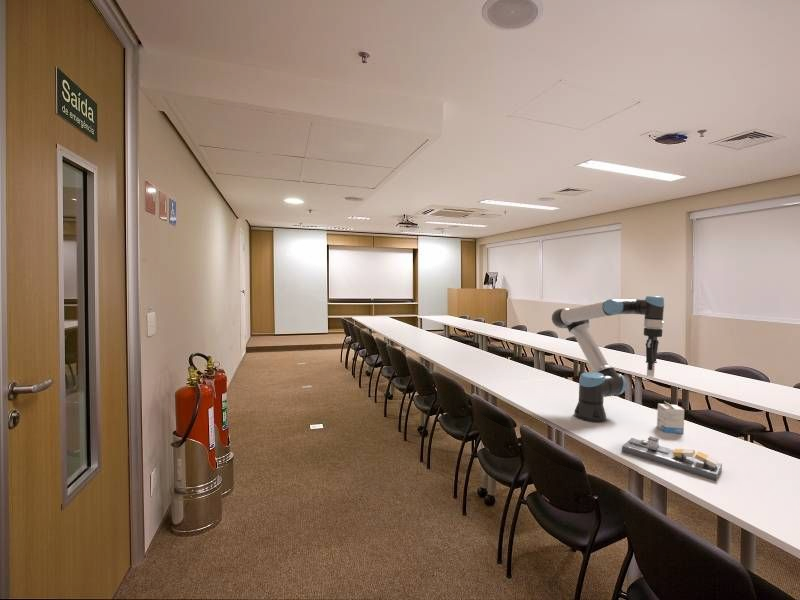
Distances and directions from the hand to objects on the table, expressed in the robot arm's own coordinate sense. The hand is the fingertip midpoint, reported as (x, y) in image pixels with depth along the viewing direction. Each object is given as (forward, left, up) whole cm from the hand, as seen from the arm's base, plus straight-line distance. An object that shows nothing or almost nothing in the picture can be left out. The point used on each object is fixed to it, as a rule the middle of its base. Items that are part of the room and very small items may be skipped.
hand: (650, 376), depth 186 cm
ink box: (+8, +8, -27) cm, 29 cm away
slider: (+10, -32, -23) cm, 40 cm away
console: (+16, -32, -26) cm, 44 cm away
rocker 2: (+27, -32, -22) cm, 47 cm away
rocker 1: (+20, -32, -22) cm, 43 cm away
